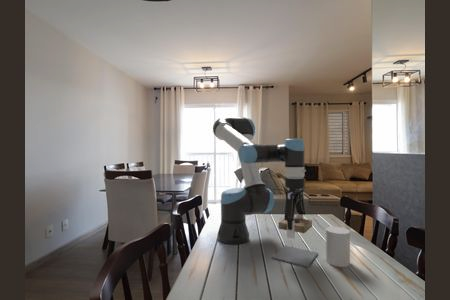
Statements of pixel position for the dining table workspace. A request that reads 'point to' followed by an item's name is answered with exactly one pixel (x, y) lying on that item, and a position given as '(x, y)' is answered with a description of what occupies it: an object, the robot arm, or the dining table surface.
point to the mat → (295, 256)
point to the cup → (338, 246)
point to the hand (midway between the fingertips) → (295, 233)
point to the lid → (297, 225)
